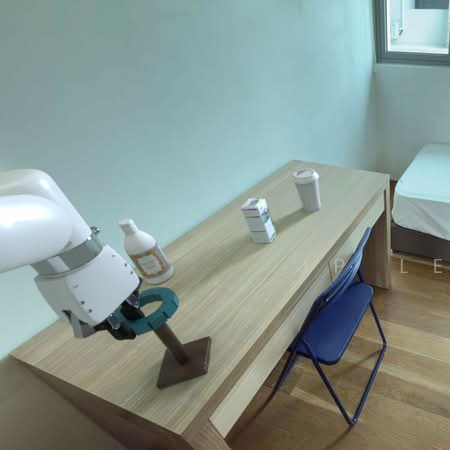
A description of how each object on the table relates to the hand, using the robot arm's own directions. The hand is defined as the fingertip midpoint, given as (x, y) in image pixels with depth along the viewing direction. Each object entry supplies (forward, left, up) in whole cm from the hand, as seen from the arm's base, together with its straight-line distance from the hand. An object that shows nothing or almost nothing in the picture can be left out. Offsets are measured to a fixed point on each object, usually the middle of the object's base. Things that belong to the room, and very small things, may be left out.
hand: (133, 330), depth 56 cm
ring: (+3, -2, 0) cm, 4 cm away
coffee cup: (+59, -38, -17) cm, 72 cm away
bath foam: (+38, +10, -17) cm, 43 cm away
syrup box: (+45, -20, -17) cm, 52 cm away
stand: (+3, -2, -17) cm, 17 cm away
